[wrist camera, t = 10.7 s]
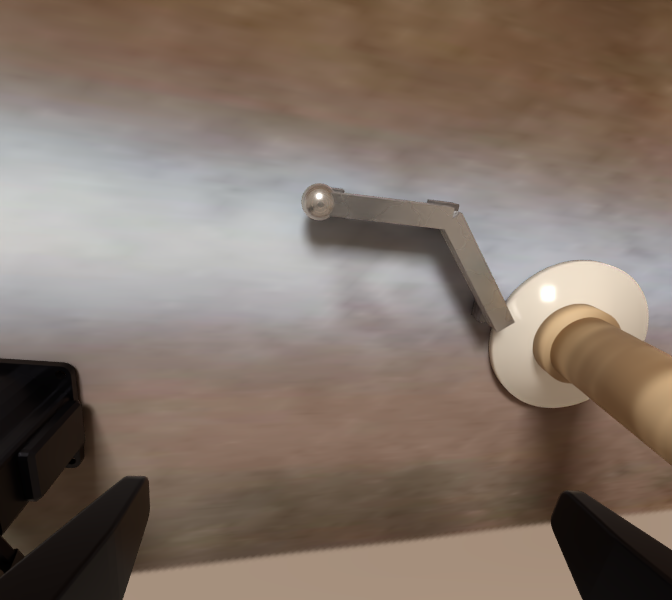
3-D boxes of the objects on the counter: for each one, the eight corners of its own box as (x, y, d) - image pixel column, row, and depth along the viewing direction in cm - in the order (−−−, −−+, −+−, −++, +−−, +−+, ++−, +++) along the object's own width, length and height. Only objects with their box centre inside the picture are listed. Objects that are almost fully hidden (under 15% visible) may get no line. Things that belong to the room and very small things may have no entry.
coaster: (472, 397, 23) (476, 403, 23) (512, 251, 21) (518, 254, 20) (607, 406, 25) (614, 411, 24) (664, 268, 22) (673, 271, 21)
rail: (291, 300, 20) (290, 318, 18) (303, 179, 18) (303, 182, 16) (492, 318, 22) (514, 336, 20) (523, 207, 20) (551, 213, 18)
